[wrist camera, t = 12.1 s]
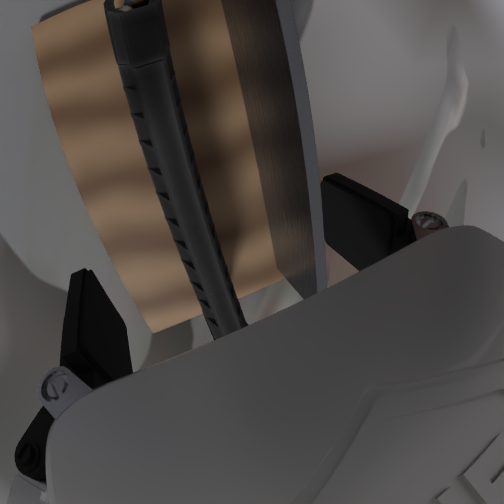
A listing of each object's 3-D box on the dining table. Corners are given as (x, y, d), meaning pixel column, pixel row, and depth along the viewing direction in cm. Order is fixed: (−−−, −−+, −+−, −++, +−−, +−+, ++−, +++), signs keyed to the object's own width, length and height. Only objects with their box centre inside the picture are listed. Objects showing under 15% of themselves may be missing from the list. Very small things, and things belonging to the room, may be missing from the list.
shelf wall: (218, -11, 17) (261, -51, 10) (229, -12, 18) (276, -51, 10) (276, 267, 34) (318, 316, 27) (284, 264, 35) (327, 311, 27)
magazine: (263, 364, 27) (213, -56, 4) (232, 378, 27) (90, -31, 4) (203, 245, 38) (144, -8, 15) (179, 255, 37) (103, 4, 14)
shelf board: (36, 30, 14) (31, 27, 13) (230, -25, 18) (235, -30, 17) (151, 324, 33) (153, 333, 32) (287, 268, 37) (293, 274, 36)
